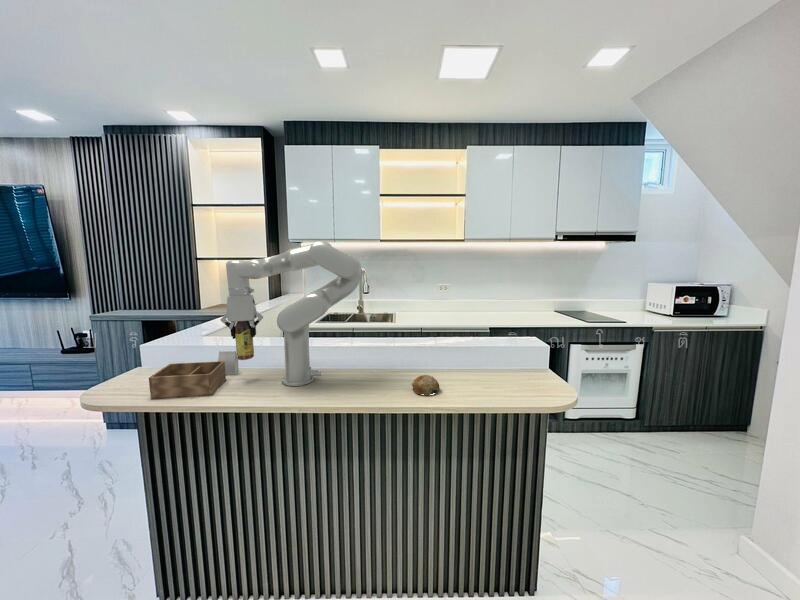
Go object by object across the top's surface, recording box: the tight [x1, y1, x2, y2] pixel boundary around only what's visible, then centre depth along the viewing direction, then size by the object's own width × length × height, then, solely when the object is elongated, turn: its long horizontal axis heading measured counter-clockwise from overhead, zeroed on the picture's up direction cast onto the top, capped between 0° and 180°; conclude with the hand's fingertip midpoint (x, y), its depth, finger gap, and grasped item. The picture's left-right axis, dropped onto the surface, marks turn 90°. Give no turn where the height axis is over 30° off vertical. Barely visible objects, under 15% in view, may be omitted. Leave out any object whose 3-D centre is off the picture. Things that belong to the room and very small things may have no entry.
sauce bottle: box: [234, 321, 255, 361], centre depth 131 cm, size 7×6×20 cm
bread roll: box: [410, 374, 440, 395], centre depth 126 cm, size 10×10×8 cm
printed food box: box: [217, 350, 240, 376], centre depth 142 cm, size 4×7×10 cm, turn 94°
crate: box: [148, 360, 227, 400], centre depth 126 cm, size 20×15×8 cm
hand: (244, 337), depth 132 cm, fingers closed on sauce bottle, 6 cm apart
